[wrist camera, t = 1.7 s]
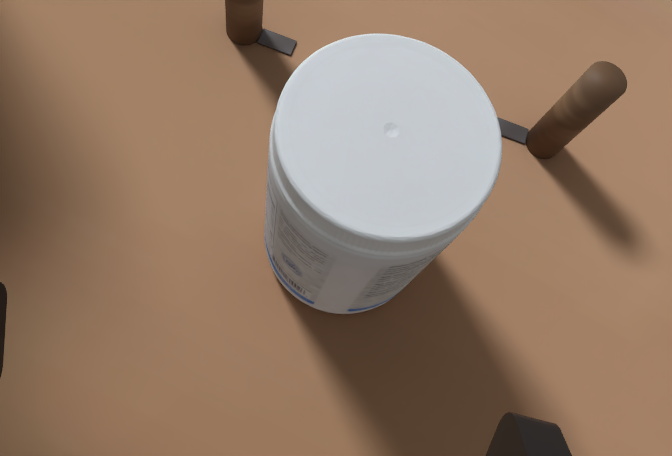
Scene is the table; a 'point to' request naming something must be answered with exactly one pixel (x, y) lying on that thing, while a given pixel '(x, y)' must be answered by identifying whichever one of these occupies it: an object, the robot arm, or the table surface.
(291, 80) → the supplement tub
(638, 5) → the table surface
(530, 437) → the robot arm
